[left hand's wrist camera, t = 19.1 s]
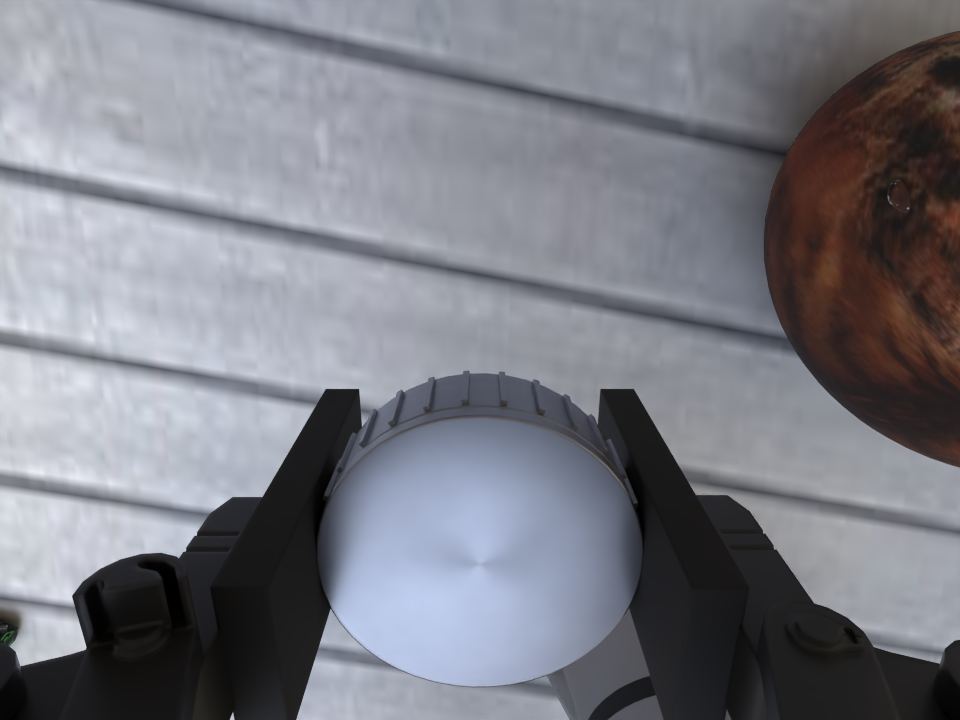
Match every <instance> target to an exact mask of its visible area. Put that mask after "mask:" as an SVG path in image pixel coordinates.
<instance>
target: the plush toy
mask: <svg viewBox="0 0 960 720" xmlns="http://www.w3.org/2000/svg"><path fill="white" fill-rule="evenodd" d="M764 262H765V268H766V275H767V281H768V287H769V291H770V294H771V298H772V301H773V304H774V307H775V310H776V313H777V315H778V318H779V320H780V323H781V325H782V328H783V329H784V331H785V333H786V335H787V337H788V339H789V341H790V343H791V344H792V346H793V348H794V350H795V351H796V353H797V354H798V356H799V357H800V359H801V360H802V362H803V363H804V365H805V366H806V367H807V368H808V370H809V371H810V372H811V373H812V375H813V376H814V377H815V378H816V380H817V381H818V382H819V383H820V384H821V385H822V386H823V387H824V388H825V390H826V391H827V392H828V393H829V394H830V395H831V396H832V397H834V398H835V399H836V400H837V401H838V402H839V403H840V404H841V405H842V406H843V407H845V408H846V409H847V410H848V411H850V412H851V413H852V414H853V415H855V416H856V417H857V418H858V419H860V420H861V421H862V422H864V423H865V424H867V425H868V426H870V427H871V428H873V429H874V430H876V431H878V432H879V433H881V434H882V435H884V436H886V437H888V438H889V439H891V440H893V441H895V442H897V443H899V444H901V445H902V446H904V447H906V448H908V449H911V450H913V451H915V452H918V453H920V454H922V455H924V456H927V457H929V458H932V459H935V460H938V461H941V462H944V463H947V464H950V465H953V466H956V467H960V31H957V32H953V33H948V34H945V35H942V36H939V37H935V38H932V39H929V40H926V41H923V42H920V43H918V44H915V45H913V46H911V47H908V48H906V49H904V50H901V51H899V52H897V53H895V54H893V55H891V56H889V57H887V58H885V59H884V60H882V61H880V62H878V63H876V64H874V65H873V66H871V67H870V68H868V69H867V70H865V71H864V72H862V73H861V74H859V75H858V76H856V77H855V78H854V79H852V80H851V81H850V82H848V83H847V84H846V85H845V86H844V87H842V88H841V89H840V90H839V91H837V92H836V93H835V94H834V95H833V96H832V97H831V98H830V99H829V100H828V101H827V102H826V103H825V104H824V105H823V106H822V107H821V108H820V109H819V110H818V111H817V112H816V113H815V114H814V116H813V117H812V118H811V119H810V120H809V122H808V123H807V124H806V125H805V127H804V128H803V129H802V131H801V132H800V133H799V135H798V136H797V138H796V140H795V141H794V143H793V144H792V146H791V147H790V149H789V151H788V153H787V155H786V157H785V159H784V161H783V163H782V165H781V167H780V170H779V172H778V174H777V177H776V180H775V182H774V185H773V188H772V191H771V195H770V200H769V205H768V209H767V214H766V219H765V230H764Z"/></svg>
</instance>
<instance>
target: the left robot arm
mask: <svg viewBox="0 0 960 720" xmlns="http://www.w3.org/2000/svg"><path fill="white" fill-rule="evenodd" d="M361 428H362V422H361V409H360V395H359V389H326V390H325V392H324V393H323V395H322V397H321V398H320V400H319V402H318V404H317V405H316V407H315V409H314V410H313V412H312V414H311V415H310V417H309V419H308V421H307V422H306V424H305V426H304V427H303V429H302V431H301V433H300V434H299V436H298V438H297V439H296V441H295V443H294V445H293V446H292V448H291V450H290V451H289V453H288V455H287V456H286V458H285V460H284V462H283V463H282V465H281V467H280V468H279V470H278V472H277V474H276V475H275V477H274V479H273V480H272V482H271V484H270V485H269V487H268V489H267V491H266V492H265V494H264V496H263V497H232V498H231V499H230V500H228V501H227V502H225V503H224V504H223V505H221V506H220V507H219V508H217V509H216V510H214V511H213V512H212V513H210V515H209V516H208V517H207V519H206V520H205V522H204V523H203V525H202V526H201V528H200V529H199V530H198V532H197V536H194V538H193V539H192V540H191V542H190V543H189V545H188V546H187V548H186V552H183V553H182V555H181V556H180V558H177V557H176V556H172V555H167V554H163V553H152V554H140V555H136V556H132V557H128V558H125V559H121V560H118V561H116V562H114V563H112V564H110V565H108V566H106V567H104V568H101V569H99V570H98V571H97V572H95V573H94V574H93V575H91V576H90V577H89V578H87V579H86V580H85V581H83V582H82V584H81V585H80V586H79V588H78V589H77V590H76V592H75V593H74V594H73V596H72V597H73V601H74V604H75V608H76V611H77V615H78V618H79V622H80V625H81V629H82V633H83V636H84V640H85V643H86V647H87V648H86V650H84V651H81V652H77V653H74V654H71V655H67V656H63V657H58V658H54V659H50V660H46V661H41V662H37V663H33V664H29V665H25V666H20V664H19V661H18V658H17V655H16V652H15V651H14V650H13V649H12V648H10V647H9V646H8V645H7V644H6V643H0V720H230V717H231V715H232V713H234V719H235V720H296V718H297V715H298V712H299V709H300V705H301V702H302V699H303V696H304V692H305V689H306V686H307V683H308V680H309V676H310V673H311V670H312V667H313V663H314V660H315V657H316V654H317V650H318V647H319V644H320V641H321V638H322V634H323V631H324V628H325V625H326V621H327V618H328V615H329V612H330V606H329V604H328V601H327V599H326V597H325V595H324V593H323V590H322V586H321V583H320V580H319V574H318V565H317V556H316V536H317V531H318V525H319V520H320V518H321V515H322V512H323V509H324V506H325V504H326V501H324V500H322V499H323V496H324V494H325V491H326V489H327V487H328V484H329V482H330V479H331V477H332V475H333V472H334V470H335V468H336V465H337V463H338V461H339V459H341V458H342V455H343V453H344V451H345V448H346V446H347V443H348V441H349V439H350V436H351V435H352V433H353V432H354V433H356V434H357V433H358V432H359V431H360V429H361ZM598 428H599V430H600V431H601V432H602V433H603V435H604V437H605V438H606V440H608V439H611V440H612V442H613V444H614V446H615V448H616V451H617V453H618V456H619V458H620V460H621V463H622V465H623V467H624V470H625V472H626V474H627V477H628V479H629V482H630V484H631V487H632V489H633V491H634V494H635V496H636V498H637V501H638V503H639V508H636V510H637V512H638V515H639V518H640V523H641V527H642V531H643V540H644V552H643V561H642V571H641V578H640V582H639V586H638V589H637V591H636V594H635V596H634V599H633V601H632V604H631V605H630V607H629V609H628V610H627V612H626V614H625V615H624V617H623V619H622V620H621V621H620V623H619V624H618V625H617V626H616V628H615V629H614V630H613V631H612V633H611V634H610V635H609V636H608V637H607V638H606V639H605V640H603V641H602V642H601V643H600V644H599V645H598V646H597V647H596V648H594V649H593V650H592V651H590V652H589V653H588V654H587V655H585V656H584V657H582V658H581V659H579V660H577V661H576V662H574V663H572V664H571V665H569V666H567V667H565V668H563V669H561V670H558V671H556V672H554V673H552V674H549V675H547V676H548V678H549V680H550V683H551V685H552V687H553V689H554V691H555V693H556V695H557V697H558V699H559V701H560V702H561V704H562V706H563V708H564V710H565V712H566V714H567V716H568V718H569V719H570V720H960V640H956V641H954V642H953V643H951V644H950V645H949V646H948V647H947V648H945V651H944V654H943V657H942V660H941V663H940V664H938V663H934V662H930V661H925V660H921V659H917V658H913V657H908V656H904V655H900V654H896V653H891V652H888V651H885V650H881V649H878V648H875V647H873V645H872V644H871V642H870V641H869V639H868V638H867V636H866V635H865V633H864V632H863V631H862V630H861V629H860V628H859V627H857V626H856V625H855V624H854V623H853V622H852V621H850V620H849V619H848V618H846V617H845V616H843V615H841V614H839V613H837V612H835V611H833V610H831V609H829V608H827V607H824V606H820V605H817V604H814V603H813V601H812V600H811V598H810V597H809V595H808V594H807V593H806V591H805V590H804V588H803V587H802V585H801V584H800V583H799V581H798V580H797V578H796V577H795V575H794V574H793V573H792V571H791V570H790V568H789V567H788V565H787V564H786V563H785V561H784V560H783V558H782V557H781V556H780V554H779V553H778V551H777V550H774V546H773V544H772V543H771V541H770V540H769V538H768V537H767V536H766V534H763V530H762V528H761V527H760V526H759V524H758V523H757V521H756V520H755V518H754V517H753V516H752V514H751V513H750V511H748V510H747V509H746V508H744V507H743V506H741V505H740V504H739V503H737V502H736V501H734V500H733V499H732V498H730V497H729V496H727V495H695V493H694V491H693V490H692V488H691V486H690V484H689V483H688V481H687V479H686V478H685V476H684V474H683V473H682V471H681V469H680V467H679V466H678V464H677V462H676V461H675V459H674V457H673V455H672V454H671V452H670V450H669V449H668V447H667V445H666V443H665V442H664V440H663V438H662V437H661V435H660V433H659V432H658V430H657V428H656V426H655V425H654V423H653V421H652V420H651V418H650V416H649V414H648V413H647V411H646V409H645V408H644V406H643V404H642V403H641V401H640V399H639V397H638V396H637V394H636V392H635V391H634V389H601V390H600V404H599V417H598Z"/></svg>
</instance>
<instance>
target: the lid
mask: <svg viewBox="0 0 960 720" xmlns="http://www.w3.org/2000/svg"><path fill="white" fill-rule="evenodd" d="M322 500H324V501H326V504H325V506H324V509H323V512H322V515H321V518H320V520H319V525H318V531H317V536H316V556H317V565H318V574H319V580H320V583H321V586H322V590H323V593H324V595H325V597H326V599H327V601H328V604H329V606H330V608H331V610H332V611H333V613H334V614H335V616H336V617H337V619H338V620H339V622H340V623H341V625H342V626H343V627H344V628H345V629H346V630H347V631H348V633H349V634H350V635H351V636H352V637H353V638H354V639H355V640H356V641H357V642H358V643H359V644H361V645H362V646H363V647H364V648H365V649H366V650H368V651H369V652H370V653H372V654H373V655H375V656H376V657H378V658H379V659H380V660H382V661H384V662H386V663H387V664H389V665H391V666H393V667H395V668H397V669H399V670H401V671H404V672H406V673H408V674H411V675H413V676H416V677H419V678H422V679H426V680H429V681H433V682H437V683H443V684H448V685H453V686H465V687H496V686H505V685H513V684H517V683H522V682H527V681H531V680H534V679H537V678H540V677H543V676H546V675H549V674H552V673H554V672H556V671H558V670H561V669H563V668H565V667H567V666H569V665H571V664H572V663H574V662H576V661H577V660H579V659H581V658H582V657H584V656H585V655H587V654H588V653H589V652H590V651H592V650H593V649H594V648H596V647H597V646H598V645H599V644H600V643H601V642H602V641H603V640H605V639H606V638H607V637H608V636H609V635H610V634H611V633H612V631H613V630H614V629H615V628H616V626H617V625H618V624H619V623H620V621H621V620H622V619H623V617H624V615H625V614H626V612H627V610H628V609H629V607H630V605H631V604H632V601H633V599H634V596H635V594H636V591H637V589H638V586H639V582H640V578H641V571H642V561H643V552H644V540H643V531H642V527H641V523H640V518H639V515H638V512H637V510H636V508H639V503H638V501H637V498H636V496H635V494H634V491H633V489H632V487H631V484H630V482H629V479H628V477H627V474H626V472H625V470H624V467H623V465H622V463H621V460H620V458H619V456H618V453H617V451H616V448H615V446H614V444H613V442H612V440H611V439H608V440H606V438H605V437H604V435H603V433H602V432H601V431H600V430H599V428H598V425H597V423H596V420H595V417H594V416H593V415H592V414H590V415H589V416H587V415H586V414H585V413H584V412H583V411H582V410H581V409H580V408H579V407H577V406H576V405H575V404H573V403H572V402H571V400H570V397H569V396H568V395H566V394H564V396H562V395H560V394H558V393H556V392H554V391H552V390H550V389H548V388H546V387H544V386H541V385H540V383H539V381H537V380H533V382H530V381H528V380H524V379H520V378H515V377H511V376H506V375H505V372H499V375H497V374H470V373H469V371H463V374H462V375H455V376H448V377H444V378H440V379H436V380H435V378H434V377H432V378H429V379H428V382H426V383H424V384H421V385H419V386H416V387H414V388H411V389H409V390H407V391H406V392H403V391H402V390H400V391H399V392H397V394H396V397H395V398H393V399H392V400H391V401H389V402H388V403H387V404H385V405H384V406H383V407H381V408H380V409H379V410H378V411H377V410H375V409H373V410H372V411H371V413H370V415H369V418H368V420H367V422H366V423H365V424H364V425H363V427H362V428H361V429H360V431H359V432H358V433H357V434H356V433H354V432H353V433H352V435H351V436H350V439H349V441H348V443H347V446H346V448H345V451H344V453H343V455H342V458H341V459H339V461H338V463H337V465H336V468H335V470H334V472H333V475H332V477H331V479H330V482H329V484H328V487H327V489H326V491H325V494H324V496H323V499H322Z"/></svg>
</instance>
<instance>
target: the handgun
mask: <svg viewBox="0 0 960 720" xmlns="http://www.w3.org/2000/svg"><path fill="white" fill-rule="evenodd" d="M17 629H18V628H16V627H13V626H10V625H7V624H5V623H2V622H0V643H6V644H7V645H8V646H10V645H11V644H12V643H13V642H14V641H15V638H16V635H17V631H16V630H17Z"/></svg>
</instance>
